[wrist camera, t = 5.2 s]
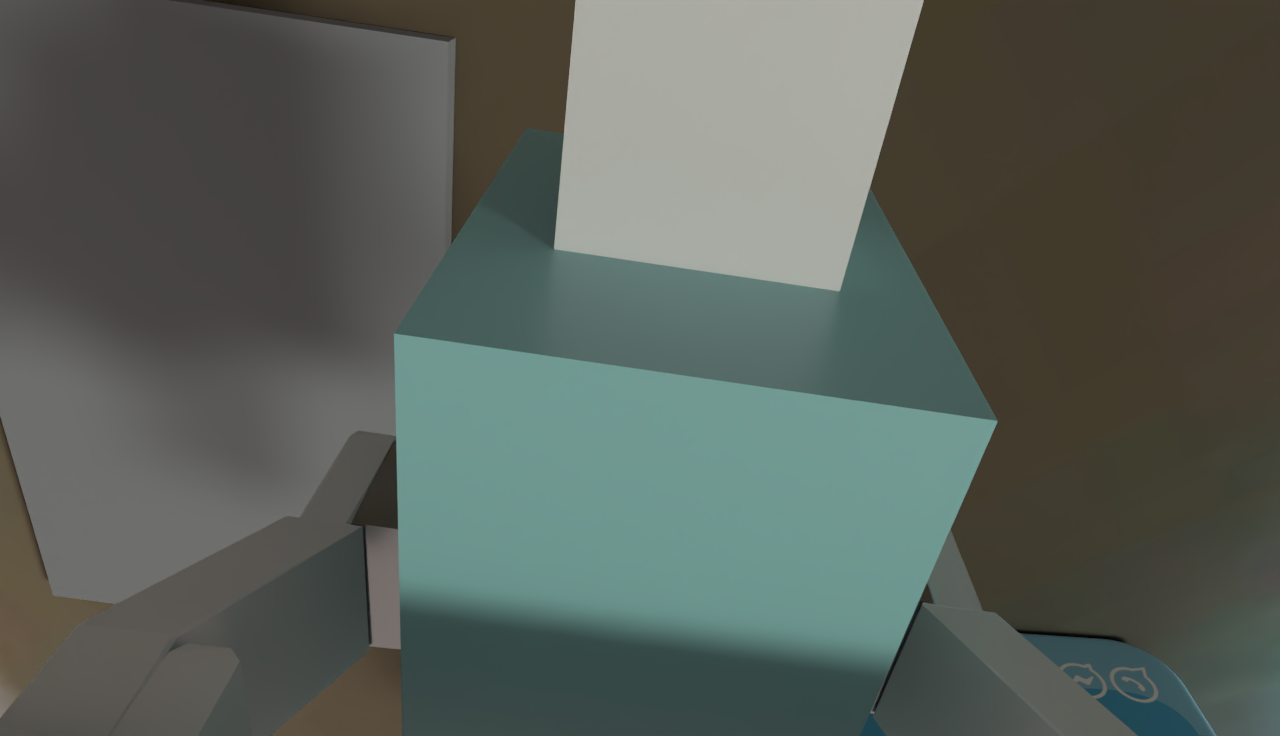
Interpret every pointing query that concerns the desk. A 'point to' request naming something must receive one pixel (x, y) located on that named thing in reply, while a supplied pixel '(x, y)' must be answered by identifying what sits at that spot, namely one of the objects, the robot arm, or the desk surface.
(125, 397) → the felt mat
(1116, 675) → the data package
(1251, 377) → the desk surface
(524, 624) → the connector
